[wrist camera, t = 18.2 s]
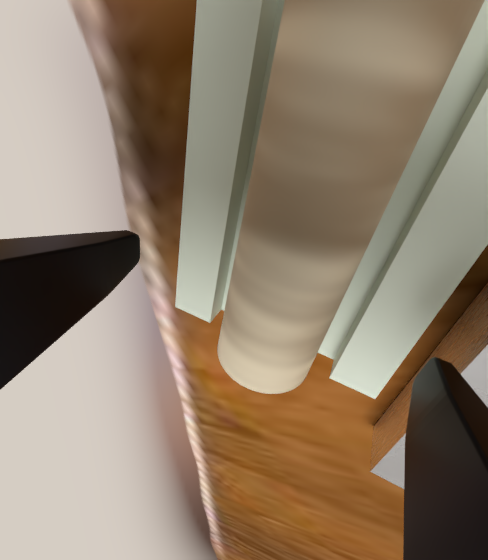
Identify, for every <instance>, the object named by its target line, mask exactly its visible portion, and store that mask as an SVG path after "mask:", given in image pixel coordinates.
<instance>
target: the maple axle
mask: <svg viewBox="0 0 488 560" xmlns="http://www.w3.org/2000/svg"><path fill="white" fill-rule="evenodd" d="M484 1H485V0H285V1H284V7H283V12H282V17H281V22H280V27H279V32H278V38H277V43H276V48H275V53H274V58H273V63H272V68H271V74H270V79H269V84H268V89H267V94H266V99H265V104H264V110H263V115H262V120H261V125H260V130H259V135H258V141H257V146H256V151H255V156H254V161H253V166H252V171H251V177H250V182H249V187H248V192H247V197H246V202H245V208H244V213H243V218H242V223H241V228H240V233H239V238H238V244H237V249H236V254H235V259H234V264H233V269H232V274H231V280H230V285H229V290H228V295H227V300H226V305H225V311H224V316H223V321H222V326H221V331H220V336H219V341H218V349H217V351H218V357H219V361H220V363H221V365H222V367H223V368H224V370H225V371H226V372H227V374H228V375H229V376H230V377H231V378H232V379H233V380H235V381H236V382H237V383H239V384H240V385H242V386H244V387H246V388H248V389H250V390H253V391H256V392H260V393H266V394H279V393H284V392H288V391H290V390H293V389H295V388H296V387H298V386H299V385H300V384H301V383H302V382H303V381H304V379H305V378H306V376H307V373H308V371H309V369H310V367H311V365H312V363H313V361H314V359H315V357H316V355H317V352H318V350H319V348H320V346H321V344H322V342H323V340H324V338H325V336H326V333H327V331H328V329H329V327H330V325H331V323H332V321H333V319H334V317H335V315H336V312H337V310H338V308H339V306H340V304H341V302H342V300H343V298H344V296H345V293H346V291H347V289H348V287H349V285H350V283H351V281H352V279H353V277H354V275H355V272H356V270H357V268H358V266H359V264H360V262H361V260H362V258H363V256H364V253H365V251H366V249H367V247H368V245H369V243H370V241H371V239H372V237H373V235H374V232H375V230H376V228H377V226H378V224H379V222H380V220H381V218H382V216H383V213H384V211H385V209H386V207H387V205H388V203H389V201H390V199H391V197H392V194H393V192H394V190H395V188H396V186H397V184H398V182H399V180H400V178H401V176H402V173H403V171H404V169H405V167H406V165H407V163H408V161H409V159H410V157H411V154H412V152H413V150H414V148H415V146H416V144H417V142H418V140H419V138H420V136H421V133H422V131H423V129H424V127H425V125H426V123H427V121H428V119H429V117H430V114H431V112H432V110H433V108H434V106H435V104H436V102H437V100H438V98H439V96H440V93H441V91H442V89H443V87H444V85H445V83H446V81H447V79H448V77H449V74H450V72H451V70H452V68H453V66H454V64H455V62H456V60H457V58H458V56H459V53H460V51H461V49H462V47H463V45H464V43H465V41H466V39H467V37H468V34H469V32H470V30H471V28H472V26H473V24H474V22H475V20H476V18H477V15H478V13H479V11H480V9H481V7H482V5H483V3H484Z"/></svg>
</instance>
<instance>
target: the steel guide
mask: <svg viewBox="0 0 488 560" xmlns="http://www.w3.org/2000/svg"><path fill="white" fill-rule="evenodd" d="M432 357H438V358H440V359H442V360H445V361H447V362H450V363H451V364H453V365H454V367H455V368H456V369H457V370H458V372H459V373H460V374H461V375H462V376H463V378H464V379H465V380H466V381H467V383H468V384H469V385H470V386H471V387H472V389H473V390H474V391H475V392H476V394H477V395H478V396H479V397H480V398H481V400H482V401H483V402H484V403H485V405H486V406H487V407H488V283H487V284H486V286H485V287H484V288H483V289H482V291H481V292H480V293H479V294H478V296H477V297H476V298H475V299H474V301H473V302H472V303H471V304H470V306H469V307H468V308H467V309H466V311H465V312H464V313H463V315H462V316H461V317H460V318H459V320H458V321H457V322H456V323H455V325H454V326H453V327H452V328H451V330H450V331H449V332H448V333H447V335H446V336H445V337H444V339H443V340H442V341H441V342H440V344H439V345H438V346H437V347H436V349H435V350H434V351H433V352H432V354H431V355H430V356H429V357H428V359H427V360H426V361H425V362H424V364H423V365H422V366H421V368H420V369H419V370H418V371H417V373H416V374H415V375H414V376H413V378H412V379H411V380H410V381H409V383H408V384H407V385H406V386H405V388H404V389H403V390H402V391H401V393H400V394H399V395H398V397H397V398H396V399H395V400H394V402H393V403H392V404H391V405H390V407H389V408H388V409H387V410H386V412H385V413H384V414H383V415H382V417H381V418H380V419H379V420H378V422H377V423H376V424H375V426H374V427H373V441H372V455H371V468H370V472H372V473H374V474H376V475H378V476H380V477H382V478H384V479H386V480H387V481H389V482H391V483H393V484H395V485H397V486H399V487H401V488H403V489H404V473H405V436H406V427H407V420H408V413H409V407H410V400H411V393H412V386H413V382H414V379H415V377H416V376H417V375H418V373H419V372H420V371H421V370H422V368H423V367H424V366H425V365H426V363H427V362H428V361H429V360H430V359H431V358H432Z"/></svg>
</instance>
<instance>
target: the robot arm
mask: <svg viewBox="0 0 488 560" xmlns="http://www.w3.org/2000/svg"><path fill="white" fill-rule="evenodd" d="M139 259H140V238H139V236H138V235H137V234H135V233H133V232H130V231H127V230H124V231H111V232H96V233H82V234H68V235H55V236H42V237H27V238H14V239H0V389H1V388H3V387H4V386H5V385H6V384H7V383H8V382H9V381H11V380H12V379H13V378H14V377H15V376H16V375H18V374H19V373H20V372H21V371H22V370H23V369H24V368H25V367H27V366H28V365H29V364H30V363H31V362H32V361H34V360H35V359H36V358H37V357H38V356H39V355H40V354H41V353H43V352H44V351H45V350H46V349H47V348H48V347H50V346H51V345H52V344H53V343H54V342H55V341H56V340H58V339H59V338H60V337H61V336H62V335H63V334H64V333H66V332H67V331H68V330H69V329H70V328H71V327H72V326H74V324H76V323H77V322H78V321H79V320H80V319H82V317H84V316H85V315H86V314H87V313H88V312H89V311H91V310H92V309H93V308H94V307H95V306H96V305H97V304H99V303H100V302H101V301H102V300H103V299H104V298H105V297H106V296H108V294H109V293H111V291H112V290H113V289H114V288H115V287H116V286H117V285H118V284H119V283H120V282H121V281H122V280H123V279H124V278H125V277H126V275H127V274H128V273H129V272H130V271H131V270H132V269H133V268H134V267H135V266H136V265H137V263H138V262H139ZM403 560H488V407H487V406H486V405H485V403H484V402H483V401H482V400H481V398H480V397H479V396H478V395H477V394H476V392H475V391H474V390H473V389H472V387H471V386H470V385H469V384H468V383H467V381H466V380H465V379H464V378H463V376H462V375H461V374H460V373H459V372H458V370H457V369H456V368H455V367H454V365H453V364H451V363H450V362H447V361H445V360H442V359H440V358H438V357H432V358H431V359H430V360H429V361H428V362H427V363H426V365H425V366H424V367H423V368H422V370H421V371H420V372H419V373H418V375H417V376H416V377H415V379H414V382H413V386H412V393H411V400H410V407H409V413H408V420H407V427H406V436H405V473H404V553H403Z"/></svg>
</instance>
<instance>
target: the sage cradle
mask: <svg viewBox="0 0 488 560" xmlns="http://www.w3.org/2000/svg"><path fill="white" fill-rule="evenodd" d="M284 1H285V0H197V6H196V20H195V34H194V48H193V62H192V76H191V90H190V105H189V119H188V133H187V147H186V161H185V175H184V190H183V204H182V218H181V232H180V246H179V260H178V274H177V289H176V303H175V307H177V308H179V309H181V310H183V311H186V312H188V313H190V314H192V315H194V316H196V317H198V318H201V319H203V320H205V321H207V322H209V323H210V322H211V321H212V320H213V319H214V318H215V316H216V315H217V314H218V313H219V312H220V310H224V311H225V305H226V300H227V295H228V290H229V285H230V280H231V274H232V269H233V264H234V259H235V254H236V249H237V244H238V238H239V233H240V228H241V223H242V218H243V213H244V208H245V202H246V197H247V192H248V187H249V182H250V177H251V171H252V166H253V161H254V156H255V151H256V146H257V141H258V135H259V130H260V125H261V120H262V115H263V110H264V104H265V99H266V94H267V89H268V84H269V79H270V74H271V68H272V63H273V58H274V53H275V48H276V43H277V38H278V32H279V27H280V22H281V17H282V12H283V7H284ZM487 245H488V0H485V1H484V3H483V5H482V7H481V9H480V11H479V13H478V15H477V18H476V20H475V22H474V24H473V26H472V28H471V30H470V32H469V34H468V37H467V39H466V41H465V43H464V45H463V47H462V49H461V51H460V53H459V56H458V58H457V60H456V62H455V64H454V66H453V68H452V70H451V72H450V74H449V77H448V79H447V81H446V83H445V85H444V87H443V89H442V91H441V93H440V96H439V98H438V100H437V102H436V104H435V106H434V108H433V110H432V112H431V114H430V117H429V119H428V121H427V123H426V125H425V127H424V129H423V131H422V133H421V136H420V138H419V140H418V142H417V144H416V146H415V148H414V150H413V152H412V154H411V157H410V159H409V161H408V163H407V165H406V167H405V169H404V171H403V173H402V176H401V178H400V180H399V182H398V184H397V186H396V188H395V190H394V192H393V194H392V197H391V199H390V201H389V203H388V205H387V207H386V209H385V211H384V213H383V216H382V218H381V220H380V222H379V224H378V226H377V228H376V230H375V232H374V235H373V237H372V239H371V241H370V243H369V245H368V247H367V249H366V251H365V253H364V256H363V258H362V260H361V262H360V264H359V266H358V268H357V270H356V272H355V275H354V277H353V279H352V281H351V283H350V285H349V287H348V289H347V291H346V293H345V296H344V298H343V300H342V302H341V304H340V306H339V308H338V310H337V312H336V315H335V317H334V319H333V321H332V323H331V325H330V327H329V329H328V331H327V333H326V336H325V338H324V340H323V342H322V344H321V346H320V348H319V350H318V353H320V354H322V355H325V356H327V357H329V358H331V359H334V361H333V365H332V369H331V373H330V377H329V378H330V379H333V380H335V381H337V382H339V383H341V384H343V385H346V386H348V387H350V388H352V389H354V390H356V391H359V392H361V393H363V394H365V395H367V396H369V397H372V398H374V399H376V397H377V396H378V394H379V393H380V392H381V390H382V389H383V388H384V386H385V385H386V383H387V382H388V381H389V379H390V378H391V377H392V375H393V374H394V372H395V371H396V370H397V368H398V367H399V366H400V364H401V363H402V361H403V360H404V359H405V357H406V356H407V355H408V353H409V352H410V350H411V349H412V348H413V346H414V345H415V344H416V342H417V341H418V339H419V338H420V337H421V335H422V334H423V333H424V331H425V330H426V329H427V327H428V326H429V324H430V323H431V322H432V320H433V319H434V318H435V316H436V315H437V313H438V312H439V311H440V309H441V308H442V307H443V305H444V304H445V302H446V301H447V300H448V298H449V297H450V296H451V294H452V293H453V291H454V290H455V289H456V287H457V286H458V285H459V283H460V282H461V280H462V279H463V278H464V276H465V275H466V274H467V272H468V271H469V269H470V268H471V267H472V265H473V264H474V263H475V261H476V260H477V258H478V257H479V256H480V254H481V253H482V252H483V250H484V249H485V247H486V246H487Z"/></svg>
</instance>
